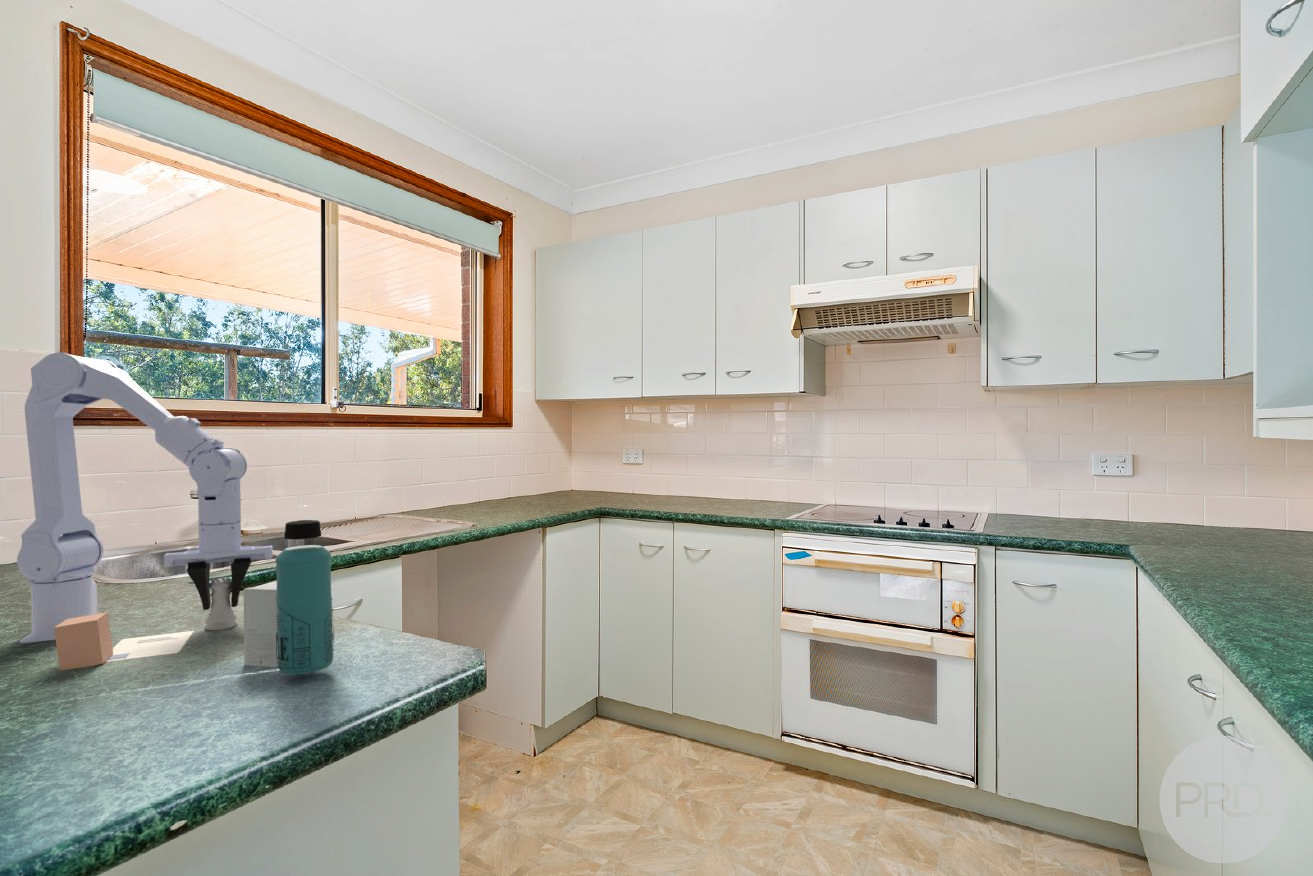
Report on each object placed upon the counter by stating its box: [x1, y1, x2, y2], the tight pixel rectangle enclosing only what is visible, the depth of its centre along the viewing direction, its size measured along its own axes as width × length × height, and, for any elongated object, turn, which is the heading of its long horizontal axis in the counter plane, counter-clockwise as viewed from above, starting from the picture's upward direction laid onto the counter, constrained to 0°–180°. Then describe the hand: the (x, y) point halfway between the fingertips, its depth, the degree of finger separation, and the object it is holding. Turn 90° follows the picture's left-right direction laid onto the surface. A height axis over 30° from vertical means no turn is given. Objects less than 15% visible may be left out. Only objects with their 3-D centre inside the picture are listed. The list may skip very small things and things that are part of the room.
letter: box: [104, 630, 195, 663], centre depth 97 cm, size 12×9×1 cm
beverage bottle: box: [274, 519, 335, 675], centre depth 84 cm, size 6×7×20 cm
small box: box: [243, 580, 278, 668], centre depth 91 cm, size 8×6×10 cm
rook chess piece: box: [204, 576, 238, 631], centre depth 107 cm, size 4×4×8 cm
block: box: [54, 611, 114, 671], centre depth 90 cm, size 4×4×6 cm
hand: (220, 607), depth 107 cm, fingers closed on rook chess piece, 3 cm apart
